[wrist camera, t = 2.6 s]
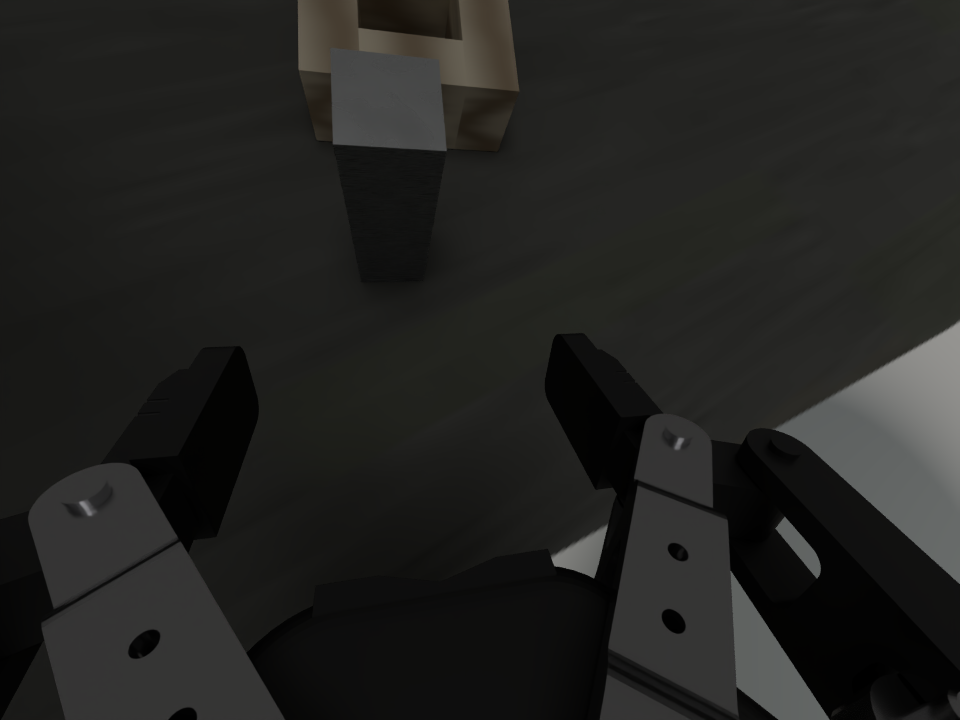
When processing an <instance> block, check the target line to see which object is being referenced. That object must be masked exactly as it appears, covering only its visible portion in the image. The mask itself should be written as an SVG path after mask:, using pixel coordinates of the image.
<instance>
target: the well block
mask: <svg viewBox="0 0 960 720" xmlns="http://www.w3.org/2000/svg"><path fill="white" fill-rule="evenodd" d="M298 48H299V73H300V77H301V81H302V85H303V89H304V92H305V96H306V100H307V104H308V108H309V112H310V116H311V120H312V124H313V128H314V132H315V135H316V139H317V140H319V141H333V127H332V92H331V57H330V48H338V49H347V50H356V51H365V52H375V53H384V54H393V55H402V56H411V57H420V58H430V59H439V66H440V78H441V90H442V102H443V113H444V125H445V137H446V148H447V149H463V150H479V151H495V152H498V149H499V146H500V144H501V141H502V138H503V135H504V132H505V130H506V127H507V124H508V121H509V118H510V116H511V113H512V110H513V107H514V104H515V102H516V99H517V96H518V93H519V86H518V78H517V70H516V62H515V54H514V46H513V38H512V30H511V22H510V13H509V5H508V0H298Z"/></svg>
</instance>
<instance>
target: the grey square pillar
mask: <svg viewBox="0 0 960 720" xmlns="http://www.w3.org/2000/svg"><path fill="white" fill-rule="evenodd" d="M330 57H331V92H332V127H333V147H334V152H335V156H336V161H337V166H338V171H339V176H340V181H341V186H342V190H343V195H344V200H345V205H346V210H347V215H348V220H349V224H350V229H351V234H352V239H353V244H354V249H355V254H356V258H357V263H358V268H359V273H360V278H361V282H402V281H423V280H424V274H425V269H426V263H427V258H428V252H429V247H430V241H431V236H432V230H433V224H434V219H435V213H436V208H437V202H438V197H439V191H440V185H441V180H442V174H443V169H444V163H445V158H446V152H447V149H446V137H445V125H444V113H443V102H442V90H441V78H440V66H439V59H430V58H420V57H411V56H402V55H393V54H384V53H375V52H365V51H356V50H347V49H338V48H330Z"/></svg>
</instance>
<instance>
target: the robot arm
mask: <svg viewBox="0 0 960 720" xmlns="http://www.w3.org/2000/svg"><path fill="white" fill-rule="evenodd" d="M545 392H546V397H547V400H548V402H549V404H550V405H551V407H552V409H553V411H554V413H555V415H556V417H557V418H558V420H559V422H560V424H561V426H562V428H563V430H564V432H565V433H566V435H567V437H568V439H569V441H570V443H571V445H572V446H573V448H574V450H575V452H576V454H577V456H578V458H579V460H580V461H581V463H582V465H583V467H584V469H585V471H586V473H587V475H588V476H589V478H590V480H591V482H592V484H593V486H594V488H595V489H596V490H598V489H605V488H614V490H615V492H616V493H617V495H616V497H615V500H614V503H613V507H612V511H611V515H610V519H609V523H608V528H607V532H606V536H605V540H604V545H603V549H602V553H601V557H600V561H599V565H598V568H597V572H596V575H595V578H592V577H590V576H588V575H585V574H582V573H580V572H577V571H574V570H570V569H566V568H562V567H555V566H554V564H553V562H552V559H551V556H550V553H549V551H548V549H544V550H538V551H531V552H525V553H519V554H513V555H506V556H500V557H495V558H493V559H491V560H488V561H486V562H484V563H482V564H479V565H477V566H475V567H473V568H470V569H468V570H466V571H464V572H462V573H459V574H457V575H455V576H453V577H450V578H448V579H446V580H443V581H427V580H417V579H406V578H396V577H386V576H373V577H367V578H361V579H354V580H348V581H342V582H335V583H329V584H323V585H317V586H316V588H315V596H314V604H313V606H312V607H310V608H308V609H305V610H303V611H301V612H300V613H298V614H296V615H294V616H292V617H291V618H289V619H287V620H286V621H284V622H283V623H281V624H280V625H279V626H277V627H276V628H274V629H273V630H271V631H270V632H269V633H268V634H267V635H265V636H264V637H263V638H262V639H261V640H260V641H258V642H257V643H256V644H255V645H254V646H253V647H252V648H251V649H250V650H249V651H248V652H247V653H246V652H245V650H244V649H243V647H242V645H241V644H240V642H239V640H238V639H237V637H236V635H235V633H234V632H233V630H232V628H231V627H230V625H229V623H228V621H227V620H226V618H225V616H224V615H223V613H222V611H221V610H220V608H219V606H218V604H217V603H216V601H215V599H214V598H213V596H212V594H211V592H210V591H209V589H208V587H207V586H206V584H205V582H204V580H203V579H202V577H201V575H200V574H199V572H198V570H197V569H196V567H195V565H194V563H193V562H192V560H191V558H190V557H189V555H188V552H189V550H190V547H191V545H192V542H193V540H197V539H205V538H213V537H216V536H217V534H218V531H219V528H220V525H221V522H222V519H223V517H224V514H225V511H226V508H227V505H228V503H229V500H230V497H231V494H232V491H233V488H234V486H235V483H236V480H237V477H238V474H239V471H240V469H241V466H242V463H243V460H244V457H245V455H246V452H247V449H248V446H249V443H250V440H251V438H252V435H253V432H254V429H255V426H256V423H257V420H258V413H259V405H258V398H257V394H256V390H255V387H254V383H253V380H252V377H251V373H250V370H249V366H248V363H247V359H246V356H245V353H244V351H243V349H242V348H241V347H240V346H233V347H208V348H203V349H202V350H201V351H200V352H199V354H198V355H197V357H196V358H195V360H194V361H193V363H192V365H191V366H190V368H189V369H184V370H178V371H176V372H175V373H174V374H172V375H171V376H169V377H168V378H166V379H165V380H164V381H162V382H161V383H159V384H158V386H157V387H156V388H155V390H154V391H153V393H152V394H151V395H150V397H149V398H148V399H147V401H148V402H147V403H145V404H144V405H143V406H142V408H141V409H140V410H139V412H138V417H134V419H133V420H132V422H131V423H130V424H129V426H128V427H127V428H126V430H125V431H124V433H123V434H122V435H121V437H120V438H119V440H118V441H117V442H116V444H115V445H114V446H113V448H112V449H111V451H110V452H109V453H108V455H107V456H106V457H105V459H104V460H103V462H102V463H101V464H100V465H97V466H93V467H90V468H86V469H84V470H81V471H78V472H76V473H74V474H72V475H70V476H68V477H66V478H64V479H62V480H61V481H59V482H58V483H56V484H55V485H53V486H52V487H50V488H49V489H48V490H47V491H45V492H44V493H43V494H42V495H41V496H40V497H39V498H38V499H37V501H36V502H35V503H34V504H33V506H32V508H31V510H30V511H28V512H24V513H21V514H18V515H14V516H11V517H8V518H4V519H1V520H0V720H1V718H2V717H3V715H4V713H5V711H6V709H7V707H8V705H9V704H10V702H11V700H12V698H13V696H14V694H15V692H16V691H17V689H18V687H19V685H20V683H21V681H22V679H23V678H24V676H25V674H26V672H27V670H28V668H29V666H30V665H31V663H32V661H33V659H34V657H35V655H36V653H37V652H38V650H39V648H40V646H41V644H42V642H43V641H45V644H46V647H47V651H48V655H49V659H50V663H51V666H52V670H53V674H54V678H55V681H56V685H57V689H58V693H59V697H60V700H61V704H62V708H63V712H64V716H65V719H66V720H778V719H777V718H775V717H774V716H773V715H772V714H770V713H769V712H768V711H766V710H765V709H764V708H763V707H761V706H760V705H759V704H758V703H756V702H755V701H754V700H753V699H751V698H750V697H749V696H747V695H746V694H745V693H744V692H742V691H741V690H740V689H738V688H737V687H736V670H735V653H734V652H735V651H734V632H733V613H732V593H731V575H730V570H731V571H732V573H733V575H734V576H735V578H736V579H737V580H738V582H739V584H740V585H741V586H742V588H743V590H744V591H745V592H746V594H747V596H748V597H749V599H750V600H751V602H752V603H753V605H754V606H755V608H756V609H757V611H758V612H759V614H760V615H761V617H762V618H763V620H764V621H765V623H766V624H767V626H768V627H769V629H770V630H771V632H772V633H773V635H774V636H775V638H776V639H777V641H778V642H779V644H780V645H781V647H782V648H783V650H784V651H785V653H786V654H787V656H788V657H789V659H790V660H791V662H792V663H793V665H794V667H795V668H796V669H797V671H798V673H799V674H800V675H801V677H802V678H803V680H804V682H805V683H806V685H807V686H808V688H809V689H810V690H811V692H812V693H813V695H814V697H815V698H816V700H817V701H818V703H819V704H820V705H821V707H822V709H823V710H824V712H825V713H826V715H827V716H828V718H829V719H830V720H960V584H959V583H958V582H957V581H956V580H954V579H953V578H952V577H951V576H950V575H949V574H948V573H947V572H946V571H944V570H943V569H942V568H941V567H940V566H939V565H938V564H937V563H936V562H935V561H933V560H932V559H931V558H930V557H929V556H928V555H927V554H926V553H925V552H924V551H922V550H921V549H920V548H919V547H918V546H917V545H916V544H915V543H914V542H912V541H911V540H910V539H909V538H908V537H907V536H906V535H905V534H904V533H902V532H901V531H900V530H899V529H898V528H897V527H896V526H895V525H894V524H893V523H892V522H890V521H889V520H888V519H887V518H886V517H885V516H884V515H883V514H882V513H881V512H879V511H878V510H877V509H876V508H875V507H874V506H873V505H872V504H871V503H870V502H868V501H867V500H866V499H865V498H864V497H863V496H862V495H861V494H860V493H858V492H857V491H856V490H855V489H854V488H853V487H852V486H851V485H850V484H848V483H847V482H846V481H845V480H844V479H843V478H842V477H841V476H839V474H838V473H836V472H835V471H834V470H833V469H832V468H831V467H830V466H829V465H828V464H826V463H825V462H824V461H823V460H822V459H821V458H820V457H819V456H818V455H816V454H815V453H814V452H813V451H812V450H811V449H810V448H809V447H807V446H806V445H805V444H803V443H802V442H800V441H799V440H797V439H795V438H794V437H792V436H790V435H787V434H785V433H782V432H779V431H776V430H772V429H765V428H759V429H754V430H752V431H750V432H749V433H748V435H747V436H746V438H745V440H744V441H743V443H742V445H741V444H734V443H728V442H721V441H714V440H710V438H709V437H708V435H707V434H706V433H705V432H704V431H703V430H702V429H701V428H700V427H699V426H697V425H696V424H694V423H693V422H691V421H689V420H687V419H685V418H682V417H679V416H675V415H671V414H663V412H662V411H661V410H660V409H659V408H658V407H657V405H656V404H655V403H654V402H653V401H652V400H651V399H650V397H649V396H648V395H647V394H646V393H645V392H644V390H643V389H642V388H641V387H640V386H639V385H638V383H635V380H634V379H633V378H632V376H631V375H630V374H629V373H627V372H626V370H625V368H624V367H623V366H622V365H621V364H620V363H619V361H618V360H617V359H615V358H614V357H612V356H611V355H609V354H608V353H606V352H604V351H603V350H597V348H596V347H595V346H594V345H593V343H592V342H591V341H590V340H589V339H588V337H587V336H586V335H585V334H583V333H575V334H557V335H556V336H555V337H554V340H553V343H552V348H551V353H550V358H549V363H548V368H547V373H546V378H545ZM784 517H786V518H787V519H788V521H789V522H790V523H791V524H792V525H793V526H794V527H795V529H796V530H797V531H798V532H799V533H800V534H801V535H802V537H804V539H805V540H806V541H807V542H808V544H809V545H810V546H811V547H812V548H813V550H814V551H815V552H816V554H817V556H818V558H819V561H820V565H821V573H820V575H819V577H818V578H817V579H816V577H815V576H814V575H813V574H812V572H811V571H810V570H809V569H808V568H807V566H806V565H805V564H804V563H803V562H802V560H801V559H800V558H799V557H798V556H797V554H796V553H795V552H794V551H793V550H792V548H791V547H790V546H789V545H788V543H787V542H786V541H785V540H784V539H783V538H782V536H781V535H780V534H779V533H778V531H777V530H776V529H775V528H776V527H777V526H778V524H779V523H780V522H781V521H782V519H783V518H784Z"/></svg>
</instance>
